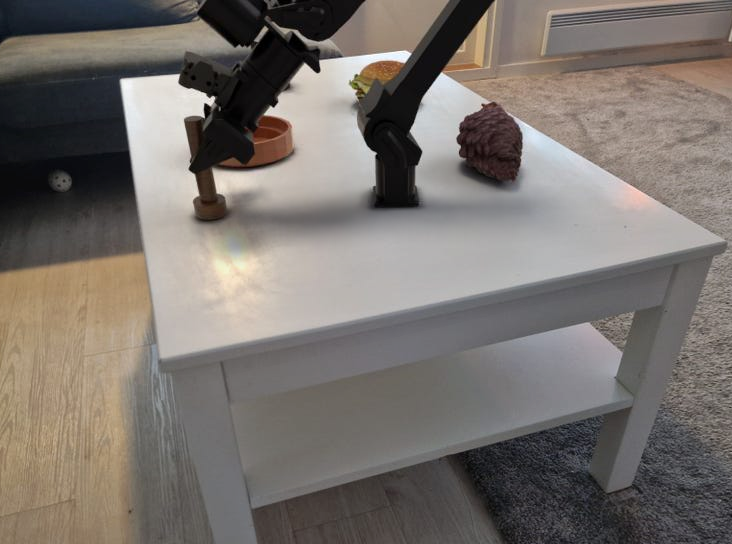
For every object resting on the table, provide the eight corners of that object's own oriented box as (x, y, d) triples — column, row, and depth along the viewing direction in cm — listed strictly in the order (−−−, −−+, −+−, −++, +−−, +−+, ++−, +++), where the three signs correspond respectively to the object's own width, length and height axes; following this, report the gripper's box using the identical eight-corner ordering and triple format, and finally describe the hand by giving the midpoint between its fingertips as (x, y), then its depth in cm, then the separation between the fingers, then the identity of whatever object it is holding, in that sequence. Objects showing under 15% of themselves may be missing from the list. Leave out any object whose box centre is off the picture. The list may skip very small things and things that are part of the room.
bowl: (290, 168, 104) (287, 143, 101) (195, 170, 103) (190, 146, 101) (297, 136, 116) (295, 113, 113) (212, 138, 115) (208, 115, 113)
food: (341, 99, 133) (339, 58, 128) (405, 91, 137) (405, 51, 132) (363, 119, 123) (362, 75, 118) (431, 110, 126) (432, 66, 122)
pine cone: (548, 184, 97) (529, 136, 89) (488, 216, 100) (465, 172, 92) (511, 117, 107) (491, 69, 100) (457, 147, 110) (434, 103, 102)
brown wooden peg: (224, 219, 89) (207, 123, 81) (192, 220, 89) (172, 124, 81) (229, 205, 92) (213, 112, 84) (198, 206, 92) (179, 113, 84)
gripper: (211, 12, 84) (144, 106, 89) (207, 44, 69) (128, 154, 75) (279, 73, 90) (212, 157, 95) (289, 113, 75) (210, 211, 81)
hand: (192, 167), depth 86 cm, fingers closed on brown wooden peg, 2 cm apart
